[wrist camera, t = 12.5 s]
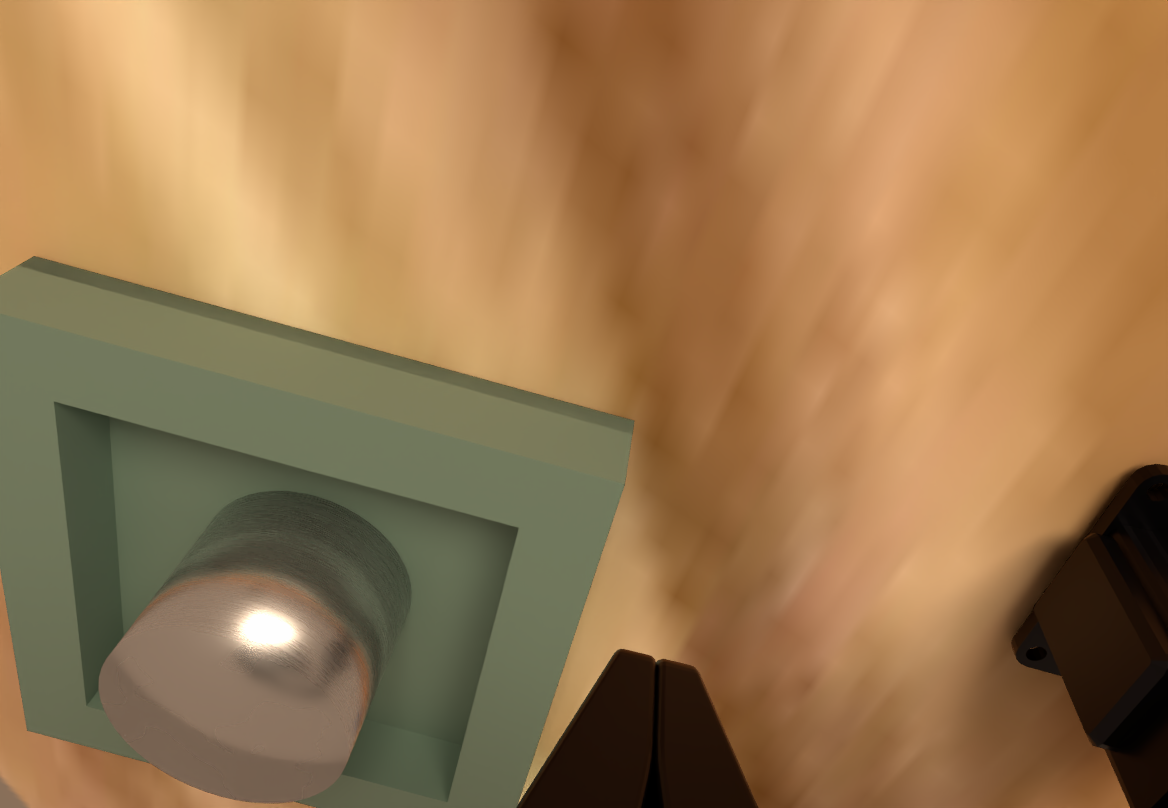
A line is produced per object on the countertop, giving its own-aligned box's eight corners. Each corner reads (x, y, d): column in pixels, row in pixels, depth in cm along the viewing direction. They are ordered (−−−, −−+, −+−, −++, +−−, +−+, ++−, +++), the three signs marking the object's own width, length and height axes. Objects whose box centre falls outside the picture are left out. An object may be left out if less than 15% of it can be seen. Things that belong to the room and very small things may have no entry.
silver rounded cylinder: (426, 527, 23) (362, 675, 19) (396, 673, 27) (335, 827, 22) (205, 465, 23) (91, 600, 19) (202, 619, 26) (104, 764, 22)
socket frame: (634, 420, 22) (625, 484, 19) (516, 782, 30) (500, 856, 27) (34, 256, 21) (-45, 301, 19) (79, 665, 29) (27, 730, 27)
